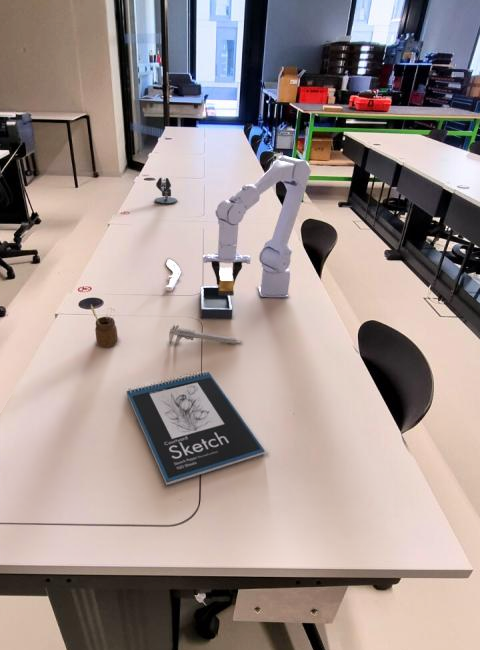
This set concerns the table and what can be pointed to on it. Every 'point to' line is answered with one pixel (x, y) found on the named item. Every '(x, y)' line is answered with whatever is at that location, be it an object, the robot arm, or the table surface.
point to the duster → (226, 282)
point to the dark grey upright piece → (165, 192)
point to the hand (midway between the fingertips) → (225, 283)
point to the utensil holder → (105, 330)
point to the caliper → (197, 336)
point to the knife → (174, 277)
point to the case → (215, 304)
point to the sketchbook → (192, 427)
